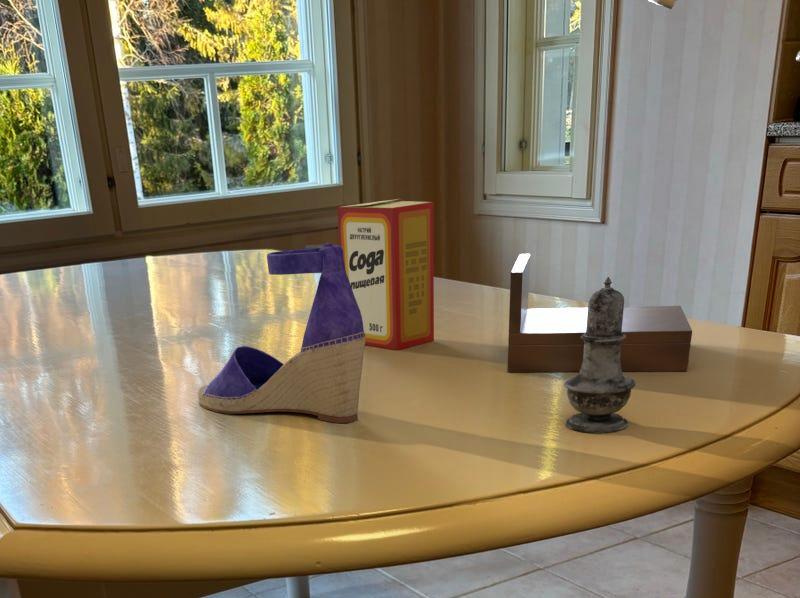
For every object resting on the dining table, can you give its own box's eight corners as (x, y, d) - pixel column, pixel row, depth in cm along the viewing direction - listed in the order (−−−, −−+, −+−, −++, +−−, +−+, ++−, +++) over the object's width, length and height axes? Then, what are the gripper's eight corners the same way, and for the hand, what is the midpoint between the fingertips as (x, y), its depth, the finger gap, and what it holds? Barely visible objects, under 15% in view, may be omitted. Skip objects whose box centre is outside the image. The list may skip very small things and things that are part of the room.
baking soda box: (433, 340, 115) (433, 198, 108) (396, 350, 112) (393, 204, 104) (380, 332, 122) (376, 198, 114) (344, 341, 118) (337, 203, 110)
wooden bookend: (676, 342, 106) (687, 247, 101) (687, 371, 94) (700, 266, 89) (516, 344, 110) (519, 254, 105) (507, 372, 98) (510, 272, 94)
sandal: (244, 388, 100) (229, 237, 93) (381, 415, 87) (376, 243, 80) (184, 405, 95) (163, 247, 88) (319, 437, 82) (307, 255, 75)
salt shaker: (646, 423, 79) (662, 274, 74) (599, 438, 77) (612, 285, 71) (593, 411, 84) (604, 269, 78) (547, 424, 81) (555, 279, 75)
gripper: (679, -321, 50) (590, -80, 50) (1023, -178, 51) (935, 60, 51) (636, -215, 56) (556, -2, 56) (943, -89, 57) (864, 122, 57)
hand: (738, 29), depth 54 cm, fingers open, 8 cm apart
